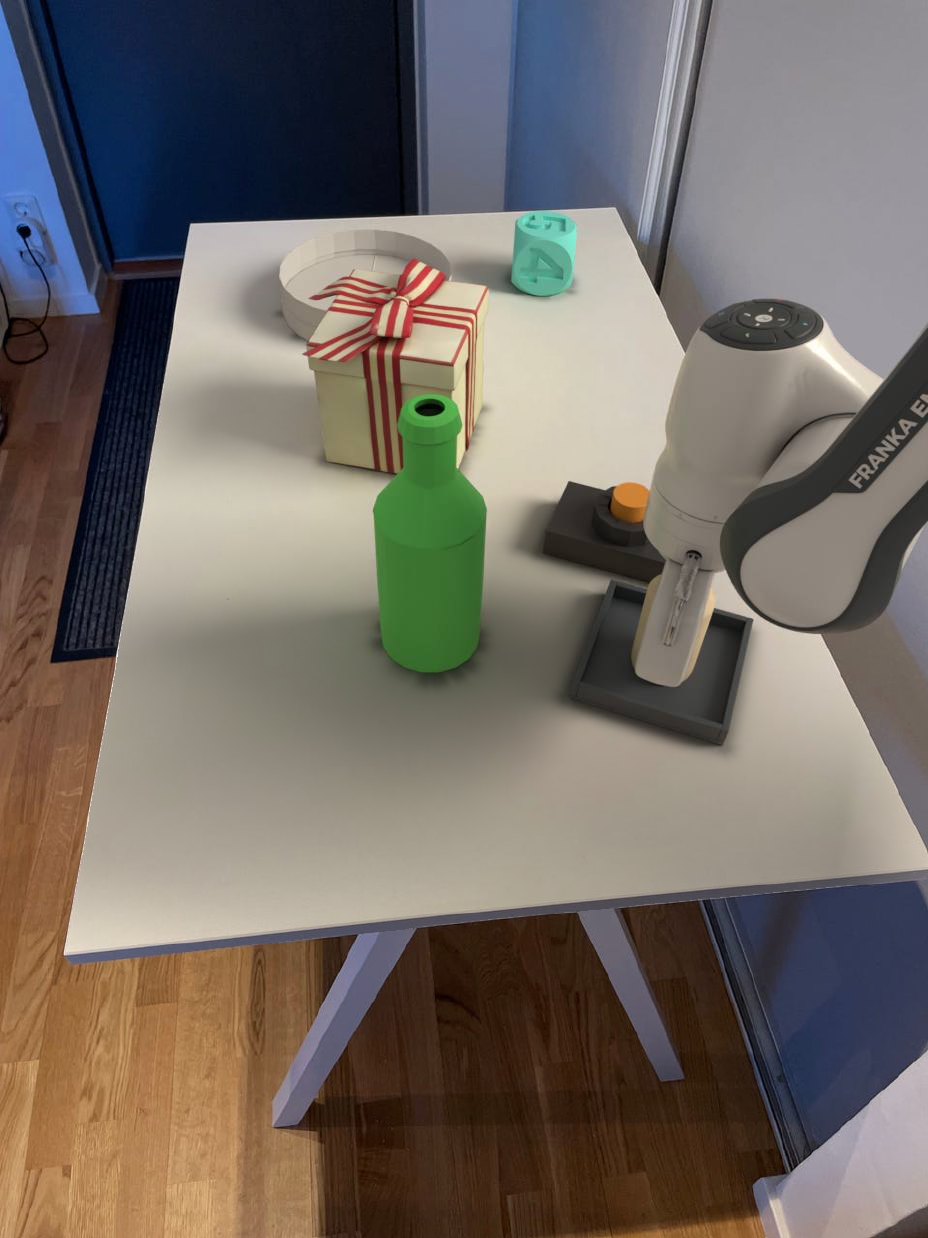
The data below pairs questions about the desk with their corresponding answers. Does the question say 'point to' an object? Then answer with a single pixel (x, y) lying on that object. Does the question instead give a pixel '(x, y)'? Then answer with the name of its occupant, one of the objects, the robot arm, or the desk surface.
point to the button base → (600, 535)
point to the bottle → (430, 544)
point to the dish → (344, 268)
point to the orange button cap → (629, 502)
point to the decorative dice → (544, 253)
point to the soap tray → (684, 708)
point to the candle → (644, 618)
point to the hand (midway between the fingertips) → (670, 634)
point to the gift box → (394, 359)
